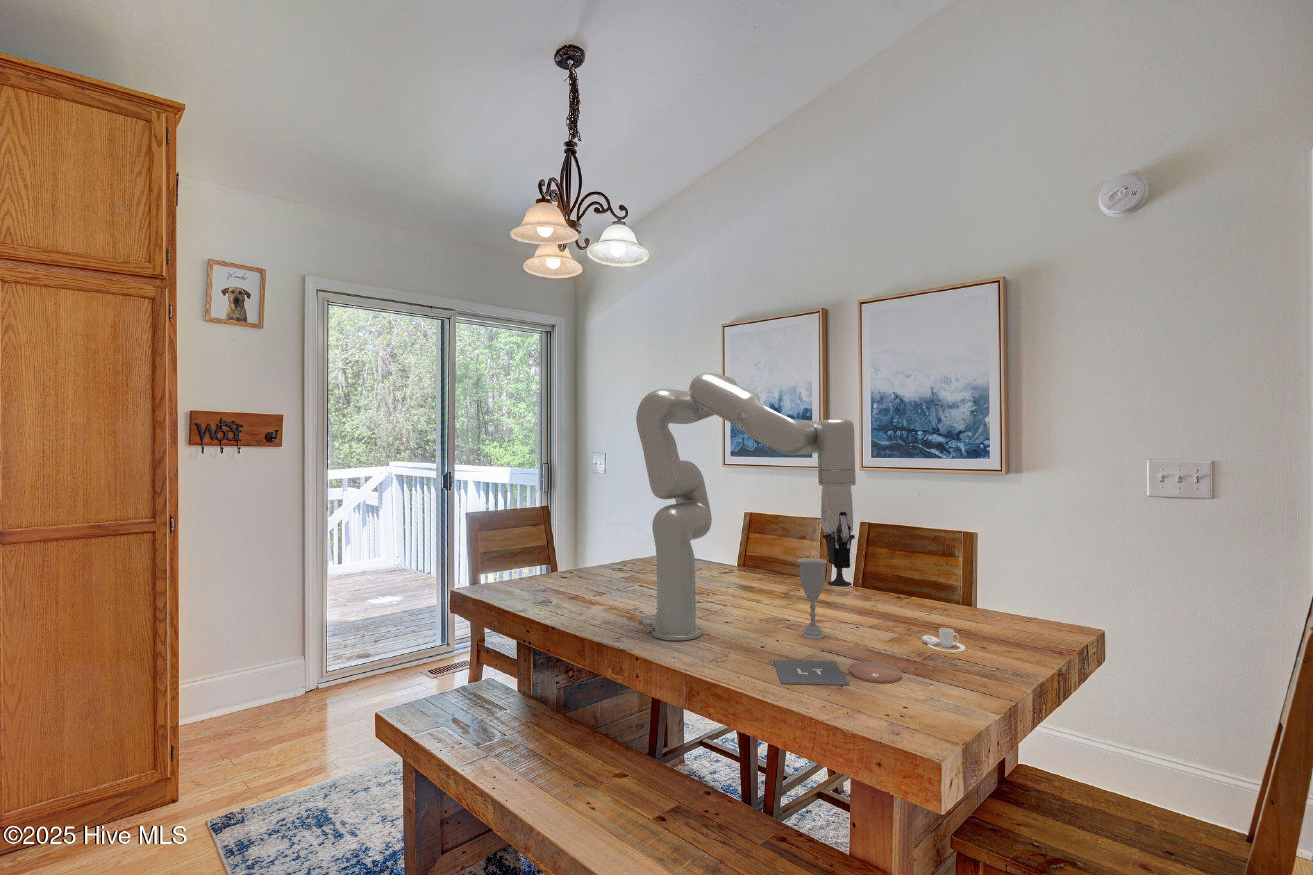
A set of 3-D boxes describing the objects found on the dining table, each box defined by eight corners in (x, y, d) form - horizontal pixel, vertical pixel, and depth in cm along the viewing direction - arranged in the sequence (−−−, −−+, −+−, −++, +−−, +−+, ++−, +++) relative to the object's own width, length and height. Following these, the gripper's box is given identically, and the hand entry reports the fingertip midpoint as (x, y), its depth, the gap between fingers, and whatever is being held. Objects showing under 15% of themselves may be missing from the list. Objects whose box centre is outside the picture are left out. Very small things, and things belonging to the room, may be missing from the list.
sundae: (818, 581, 136) (816, 511, 136) (848, 580, 136) (846, 510, 137) (829, 588, 129) (827, 514, 129) (861, 586, 130) (859, 513, 130)
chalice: (828, 640, 149) (827, 564, 149) (798, 639, 150) (798, 563, 150) (826, 631, 156) (825, 558, 156) (798, 630, 157) (797, 557, 158)
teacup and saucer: (916, 644, 147) (916, 626, 147) (942, 639, 150) (942, 622, 150) (947, 655, 139) (947, 637, 139) (973, 650, 142) (973, 632, 142)
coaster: (855, 682, 123) (855, 678, 123) (844, 664, 133) (844, 660, 133) (908, 683, 122) (908, 679, 122) (892, 665, 132) (892, 661, 132)
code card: (780, 684, 123) (780, 682, 123) (773, 660, 135) (773, 659, 135) (849, 685, 122) (849, 684, 122) (835, 662, 135) (835, 660, 135)
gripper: (811, 476, 142) (813, 558, 141) (826, 480, 125) (829, 573, 124) (845, 476, 141) (848, 558, 141) (865, 479, 124) (868, 573, 124)
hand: (839, 564), depth 133 cm, fingers closed on sundae, 4 cm apart
